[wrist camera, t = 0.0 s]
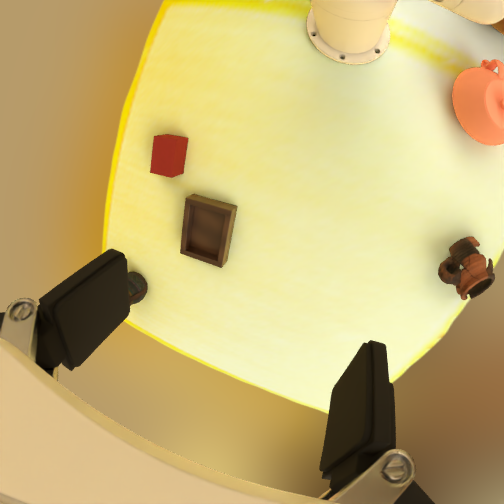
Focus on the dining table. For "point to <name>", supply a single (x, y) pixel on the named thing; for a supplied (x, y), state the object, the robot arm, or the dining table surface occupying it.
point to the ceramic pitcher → (499, 26)
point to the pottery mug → (467, 269)
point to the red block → (168, 155)
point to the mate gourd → (136, 287)
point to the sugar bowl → (481, 102)
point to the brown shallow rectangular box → (207, 229)
